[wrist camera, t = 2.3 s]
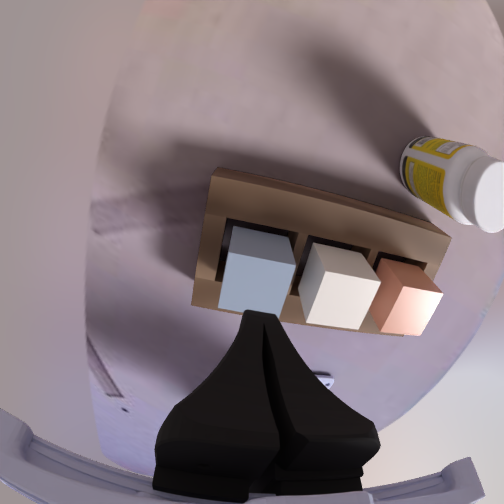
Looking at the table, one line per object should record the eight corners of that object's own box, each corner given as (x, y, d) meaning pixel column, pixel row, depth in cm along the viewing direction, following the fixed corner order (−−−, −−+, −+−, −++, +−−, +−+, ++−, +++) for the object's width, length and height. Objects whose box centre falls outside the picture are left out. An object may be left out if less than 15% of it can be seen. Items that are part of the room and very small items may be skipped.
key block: (391, 315, 24) (403, 336, 22) (197, 283, 23) (191, 305, 20) (432, 223, 21) (451, 238, 18) (217, 167, 19) (211, 175, 17)
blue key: (274, 284, 20) (278, 318, 16) (223, 274, 19) (217, 307, 16) (288, 237, 18) (296, 265, 15) (233, 225, 18) (228, 252, 15)
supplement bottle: (429, 208, 20) (495, 254, 13) (386, 176, 19) (453, 214, 12) (456, 158, 18) (531, 186, 11) (416, 122, 18) (494, 135, 10)
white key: (343, 296, 20) (358, 329, 17) (297, 288, 20) (306, 322, 17) (361, 252, 19) (381, 281, 15) (313, 242, 18) (325, 271, 15)
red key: (400, 305, 21) (419, 335, 17) (363, 299, 20) (380, 331, 17) (418, 266, 19) (443, 293, 16) (381, 257, 19) (403, 286, 16)
